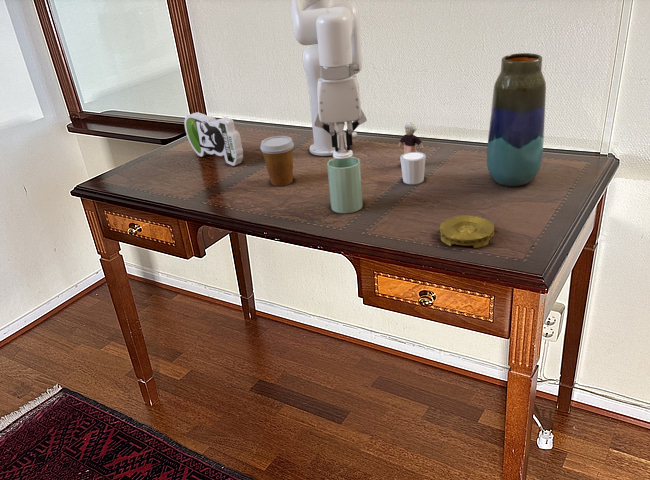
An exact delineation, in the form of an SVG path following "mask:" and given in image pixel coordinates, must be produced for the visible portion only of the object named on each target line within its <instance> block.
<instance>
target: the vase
mask: <svg viewBox="0 0 650 480" xmlns="http://www.w3.org/2000/svg"><path fill="white" fill-rule="evenodd" d="M542 67H543V56H542V55H540V54H538V53H530V52H529V53H528V52H521V53H520V52H519V53H512V54H508V55H505V56H503V57H502V58H501V62H500V71H499V74H498V76H497V78H496V80H495V82H494V85H493V92H492V99H491V100H492V101H491V109H490V118H489V128H488V137H487V148H486V166H487V171H488V173H489V175H490V176H491V178H492V179H493V180H494V182H495V183H498V184H500V185H502V186H506V187H507V186H508V187H520V186H525V185H526V184H528V183H530V182H532V181H533V180H534V179H535V177H536V176H537V175H538V173H539V172H540V169H541V167H542V162H543V157H544V156H543V154H544V145H545V144H544V143H545V142H544V141H545V122H546V121H545V120H546V101H547V99H546V98H547V82H546V79H545V76H544V73H543V71H542V70H543V69H542Z"/></svg>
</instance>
